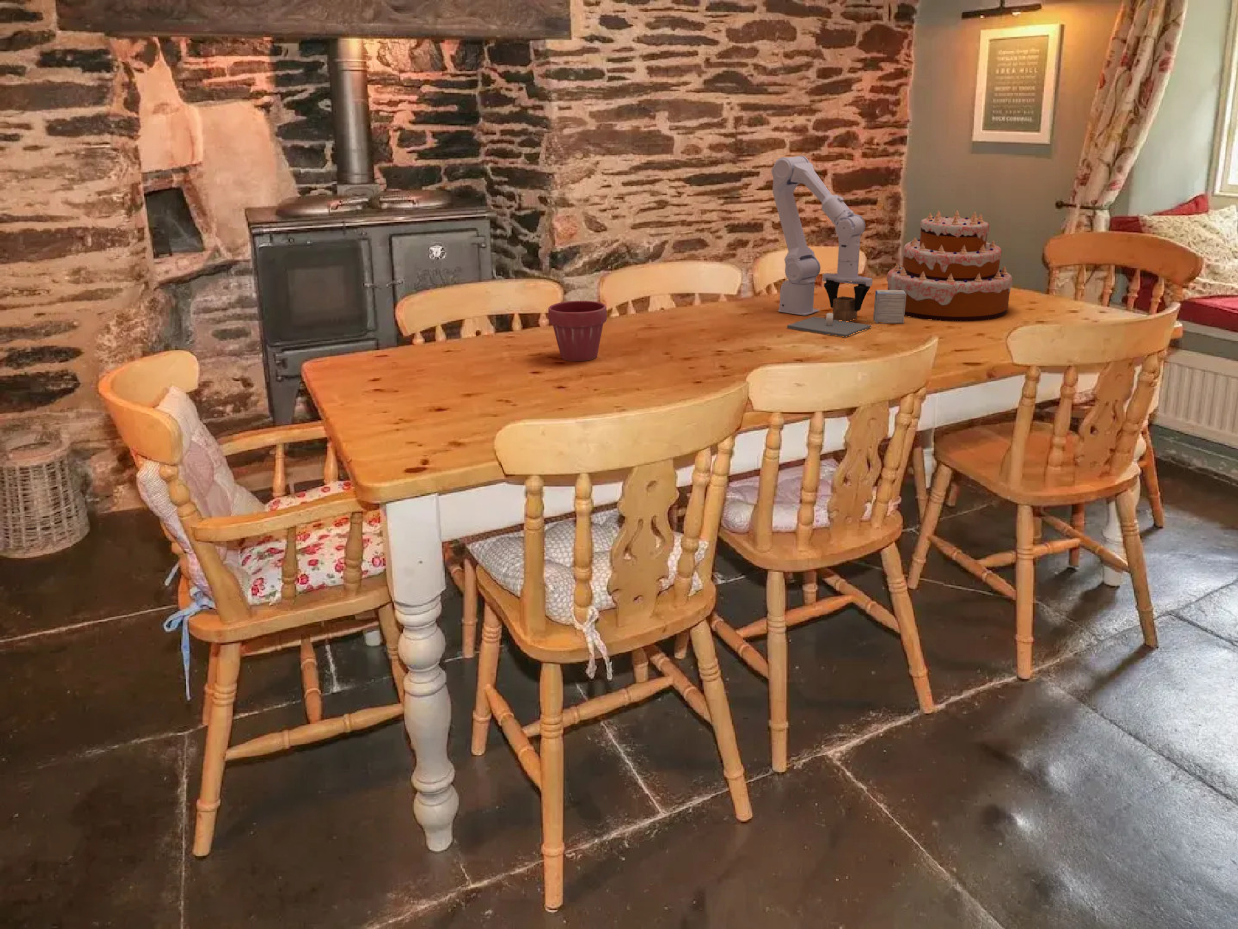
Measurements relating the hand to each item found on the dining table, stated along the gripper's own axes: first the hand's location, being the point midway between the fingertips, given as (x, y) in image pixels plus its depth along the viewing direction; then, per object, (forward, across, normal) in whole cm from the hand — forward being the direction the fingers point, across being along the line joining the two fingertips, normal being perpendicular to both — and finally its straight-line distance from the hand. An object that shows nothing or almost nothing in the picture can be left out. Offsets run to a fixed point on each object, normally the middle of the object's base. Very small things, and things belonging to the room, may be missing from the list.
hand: (845, 308), depth 284 cm
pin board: (+3, +2, -12) cm, 13 cm away
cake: (+3, +16, +31) cm, 35 cm away
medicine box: (+3, +11, +5) cm, 12 cm away
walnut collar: (+3, 0, 0) cm, 3 cm away
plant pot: (+3, -31, -77) cm, 83 cm away
